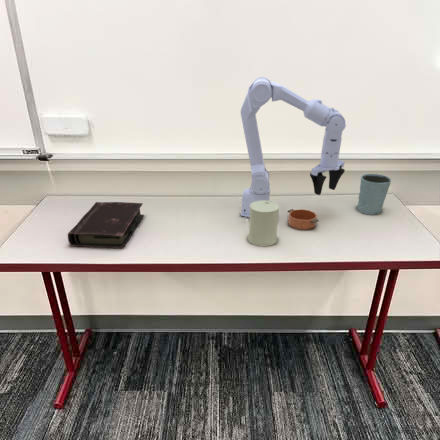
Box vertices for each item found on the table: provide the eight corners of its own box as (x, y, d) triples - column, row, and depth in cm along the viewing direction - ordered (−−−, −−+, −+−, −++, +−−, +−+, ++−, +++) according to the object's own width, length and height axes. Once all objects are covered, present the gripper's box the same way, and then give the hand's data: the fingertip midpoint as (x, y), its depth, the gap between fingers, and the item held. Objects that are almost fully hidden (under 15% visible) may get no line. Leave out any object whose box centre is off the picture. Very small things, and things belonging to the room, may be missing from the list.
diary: (68, 246, 133) (65, 232, 130) (96, 214, 153) (93, 201, 150) (126, 249, 131) (124, 234, 128) (146, 216, 152) (144, 203, 149)
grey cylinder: (350, 209, 156) (355, 177, 150) (364, 202, 162) (371, 171, 155) (374, 217, 150) (381, 185, 143) (389, 210, 156) (396, 178, 149)
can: (279, 235, 139) (282, 200, 132) (273, 248, 132) (276, 212, 125) (252, 231, 141) (254, 197, 134) (244, 243, 134) (246, 208, 127)
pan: (298, 215, 152) (299, 206, 150) (324, 226, 144) (325, 217, 142) (280, 222, 147) (280, 212, 145) (305, 234, 140) (307, 224, 138)
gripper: (325, 158, 132) (319, 199, 139) (354, 150, 139) (347, 190, 147) (308, 153, 136) (303, 193, 144) (337, 145, 144) (331, 184, 151)
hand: (324, 191), depth 146 cm, fingers open, 7 cm apart
